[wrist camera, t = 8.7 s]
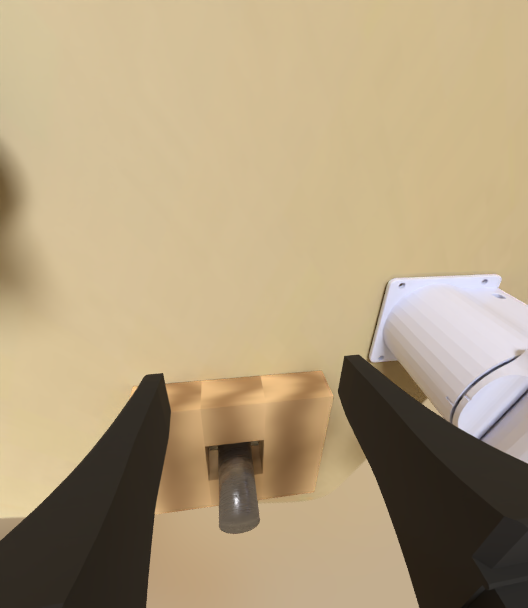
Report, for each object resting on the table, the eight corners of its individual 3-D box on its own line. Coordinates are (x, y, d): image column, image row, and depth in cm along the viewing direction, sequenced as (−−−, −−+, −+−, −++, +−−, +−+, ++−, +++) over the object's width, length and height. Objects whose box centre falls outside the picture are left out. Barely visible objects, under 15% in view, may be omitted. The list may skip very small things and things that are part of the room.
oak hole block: (321, 370, 27) (333, 396, 24) (306, 464, 34) (314, 492, 31) (133, 386, 24) (123, 416, 22) (158, 483, 32) (154, 514, 29)
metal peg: (246, 417, 28) (257, 509, 22) (250, 436, 30) (262, 528, 23) (215, 423, 28) (215, 518, 21) (221, 443, 30) (223, 536, 23)
